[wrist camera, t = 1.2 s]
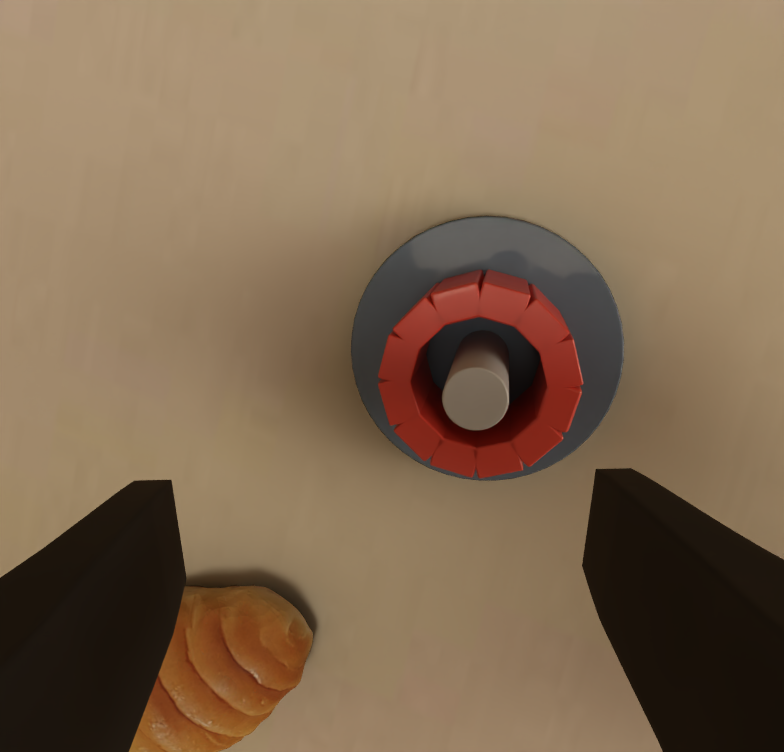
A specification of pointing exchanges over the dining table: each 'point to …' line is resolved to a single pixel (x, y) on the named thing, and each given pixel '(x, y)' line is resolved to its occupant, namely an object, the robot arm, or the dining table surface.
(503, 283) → the ring
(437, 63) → the dining table surface
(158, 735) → the pastry
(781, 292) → the dining table surface
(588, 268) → the ring stand
